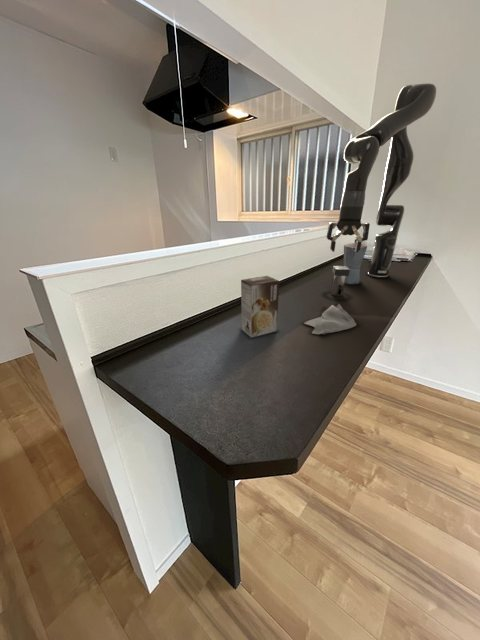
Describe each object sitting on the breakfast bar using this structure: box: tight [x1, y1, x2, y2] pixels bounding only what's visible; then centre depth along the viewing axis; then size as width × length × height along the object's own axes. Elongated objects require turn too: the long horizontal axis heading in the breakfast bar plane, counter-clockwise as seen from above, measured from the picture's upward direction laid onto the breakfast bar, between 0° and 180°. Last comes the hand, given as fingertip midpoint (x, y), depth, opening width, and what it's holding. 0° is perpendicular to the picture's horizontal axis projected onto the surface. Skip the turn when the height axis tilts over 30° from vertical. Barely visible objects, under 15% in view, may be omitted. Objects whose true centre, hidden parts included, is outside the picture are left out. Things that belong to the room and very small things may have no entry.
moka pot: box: [343, 238, 368, 285], centre depth 120 cm, size 10×15×20 cm, turn 158°
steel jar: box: [330, 265, 350, 297], centre depth 104 cm, size 7×5×11 cm
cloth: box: [303, 303, 357, 336], centre depth 86 cm, size 26×14×2 cm, turn 139°
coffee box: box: [240, 275, 280, 339], centre depth 77 cm, size 9×6×16 cm
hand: (344, 251), depth 100 cm, fingers open, 8 cm apart
